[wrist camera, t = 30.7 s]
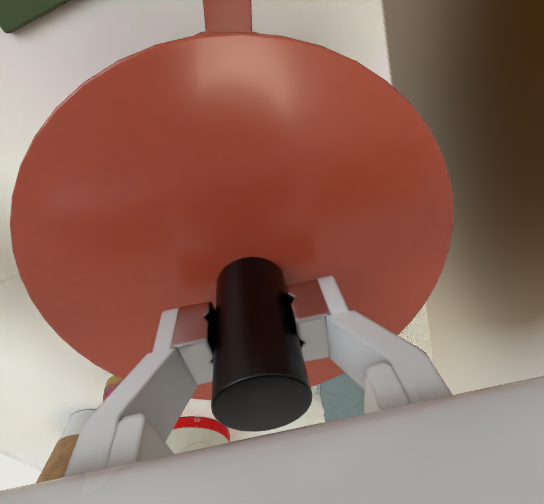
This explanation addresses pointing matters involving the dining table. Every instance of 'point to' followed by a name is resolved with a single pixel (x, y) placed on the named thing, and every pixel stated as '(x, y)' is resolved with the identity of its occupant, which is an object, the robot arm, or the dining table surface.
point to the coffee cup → (64, 447)
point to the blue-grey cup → (341, 398)
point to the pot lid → (230, 209)
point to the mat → (24, 12)
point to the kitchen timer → (196, 434)
